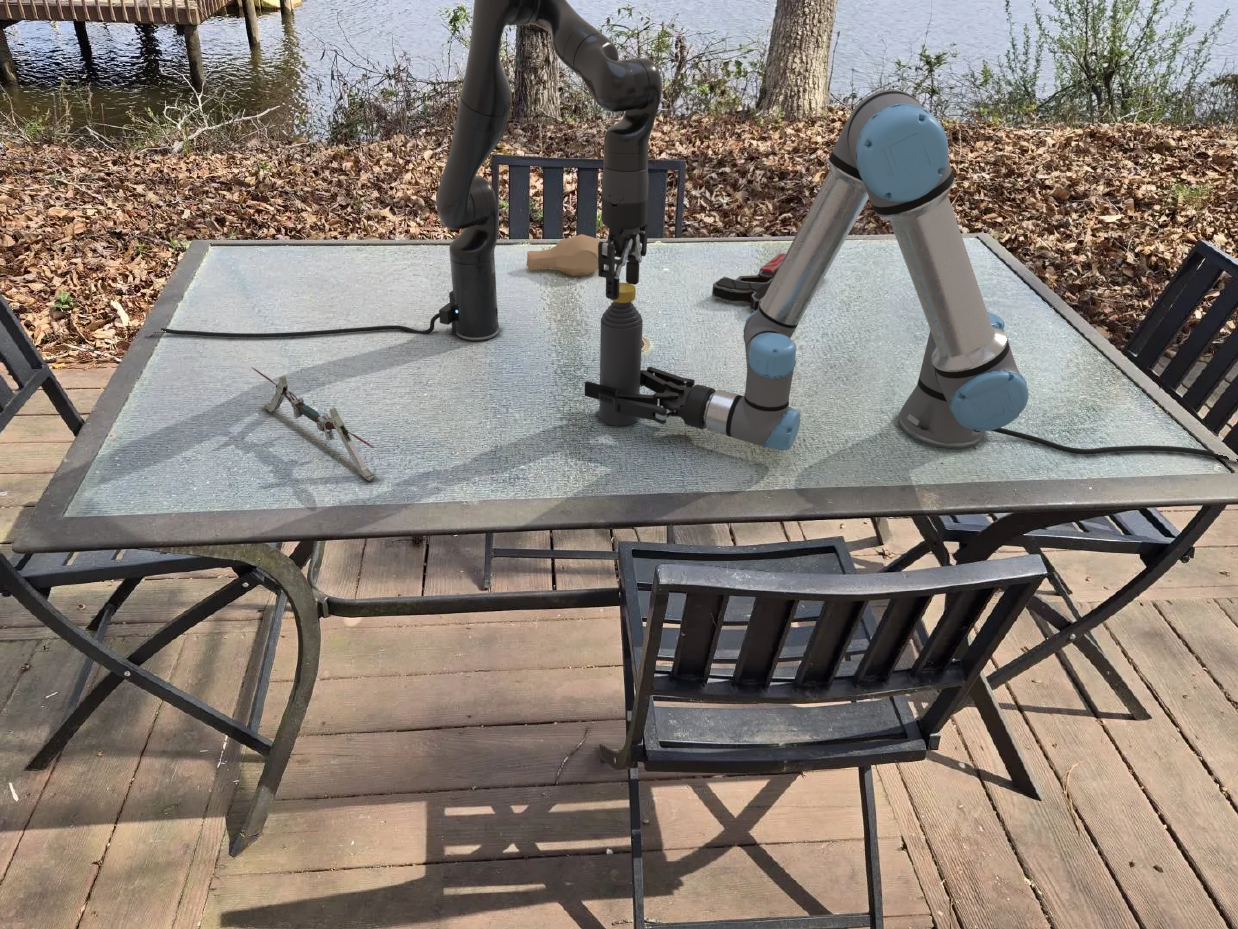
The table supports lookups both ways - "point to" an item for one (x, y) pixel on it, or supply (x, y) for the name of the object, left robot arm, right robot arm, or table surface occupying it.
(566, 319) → the table surface
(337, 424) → the bow
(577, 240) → the squash
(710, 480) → the table surface
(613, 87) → the left robot arm
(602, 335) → the bottle
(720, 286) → the gun
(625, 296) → the cap
